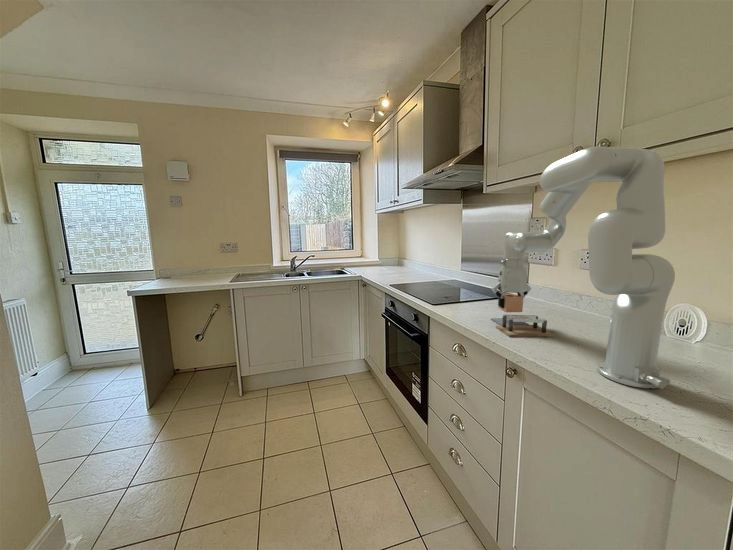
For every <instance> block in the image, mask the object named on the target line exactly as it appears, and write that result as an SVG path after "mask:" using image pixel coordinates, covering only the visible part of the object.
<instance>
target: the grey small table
mask: <svg viewBox="0 0 733 550" xmlns="http://www.w3.org/2000/svg"><path fill="white" fill-rule="evenodd" d="M502 318H503V320H502V327H506V321H507V318H510V319H509V328H508V331H513V322H526V323H533V324H532V325H533V328H537V326H539V325H538V324H539V323H540V324H541V328H542V333H546V330H547V327H548V325H547V324H548V320H547V319H545V318H544V319H543V318H542V319H541V318H539V316H538V315H535V314H533V315H531V314H529V315H528V314H503V315H502Z"/></svg>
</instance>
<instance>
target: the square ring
mask: <svg viewBox="0 0 733 550" xmlns="http://www.w3.org/2000/svg"><path fill="white" fill-rule="evenodd" d="M497 298H498V299H499V297H497ZM504 299H505V301H504V308H501V307H499V305H498V304H497V309H498V310H500V311H503V312H505V313H523V308H524V307H523V306H524V298H523V297H521V296H519V295H517V293H506V294H505V296H504Z"/></svg>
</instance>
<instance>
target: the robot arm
mask: <svg viewBox="0 0 733 550" xmlns="http://www.w3.org/2000/svg"><path fill="white" fill-rule="evenodd" d="M665 167H666V166H665V162H664V159H663V157H662V156H661V155H660V154H659V153H658V152H656V151H654V150H651V149H646V148H637V147H624V146H623V147H620V146H614V147H613V146H600V145H599V146H589V147H586V148H583V149H580V150H577V151H576V152H574V153H572V154H569V155H567V156H565V157H563V158H561V159H558V160H556V161H554V162H552V163H551V164H549V165H548V166H547V167H546V168H545V169H544V170H543V171H542V173H541V175H540V178H539V179H540V180H539V184H540V188H541V189H542V190H543V191H544V192H547V194H545V197H544V199H542V201H541V202H540V204H539V209H540V211H541V212H542V214H543V215H544V216H545V217H548V219H550V221H549V223H548V224H547V226H546V227H545V228H544V229H543V230H542V231H512V232H511V231H509V232H506V233H505V235H504V239H503V240H504V241H503V257H502V260H500V261H499V264H500V265H502V266H501V267H500V269H499V273H498V278H497V283H496V284H495V285H493V286H492V287H491V291H492V292H493V293H494V294H495V295H496V297H497V298H499V299H498V300H497V301H498V302H497V306H498V305H499V307H501V308H504V301H505V299H504V296H505V294H516V295H519V296H521V297H523V299H525V297H526V296H527V295H528V293H529V292H530V291H531V290H532V287H531V286H530V285H528V284H529V283H528V273H527V267H525V256H526V254H525V253H544V252H548V251H550V250H551V249H553V248H554V247H555V246H556V245H557V243H559V241H560V240H561V239H562V238H563V236H564V235H565V232H566V227H567V215H568V214H569V212H570V211H571V210H572V208H573V207H575V204H576V203H577V202H578V201H579V199H580V198H581V197H582V196H583V195H584V194H585V192H586V191H587V190H588V189H589V187H590V185H592V183H593V182H594V183H596V182H597V183H621V184H620V186H619V187H618V190H617V193H616V200H615V201H616V209H610V210H606V211H604V212H602V213H600V214H599V215H598V216H596V217H595V219H594V220H593V221H592V222H591V225H590V227H589V230H588V235H587V236H588V237H587V239H588V240H587V242H588V243H587V244H588V246H587V247H588V249H587V250H588V271H589V272H588V273H589V278H590V281H591V284H592V285H593V287H594V288H595V289H596V290H597V291H599V292H600V293H602V294H605V295H610V296H615V298H614V301H613V303H612V306H611V312H610V313H611V314H610V320H609V330H608V336H607V345H606V352H605V361H602V362H599V363H597V366H596V369H597V372H598V373H599V374H600V375H602V376H603V377H605V378H607V379H609V380H611V381H613V382H617V383H618V384H622V385H626V386H630V387H635V388H641V389H649V388H652V389H661V390H663V389H664V388H666V387H667V385H670V382H671V380H670V379H669V378H668V377H666V376H663V375H661V368H660V367H659V366H657V362H658V361H657V360H658V355H659V354H658V353H659V347H660V342H661V334H662V327H663V322H664V321H663V320H664V316H665V310H666V306H667V302H668V298H669V296H670V293H671V290H672V289H673V286H674V282H675V279H676V278H675V277H676V272H675V268H674V266H673V264H672V263H671V262H669V260H667V259H666V258H664V257H662V256H659V255H656V254H649V253H647V254H646V253H639V254H637V253H636V254H633V250H640V249H648V248H652V247H655V246H657V245H659V244H660V243H661V242H662V241H663V239H664V238H665V234H666V211H665V210H666V205H665V189H664V188H665V187H664V185H665V174H666V172H665ZM498 290H499V291H498Z"/></svg>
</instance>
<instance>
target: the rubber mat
mask: <svg viewBox="0 0 733 550" xmlns="http://www.w3.org/2000/svg"><path fill="white" fill-rule="evenodd" d="M509 319H510V318H507V321H506V325H509ZM490 320H491V321H492V322H493V323H495V322H496V324H498V326H502V320H503V317H498V318H497V317H495V318H493V317H491V318H490ZM513 325H530V324H529V323H528V322H513Z"/></svg>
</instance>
